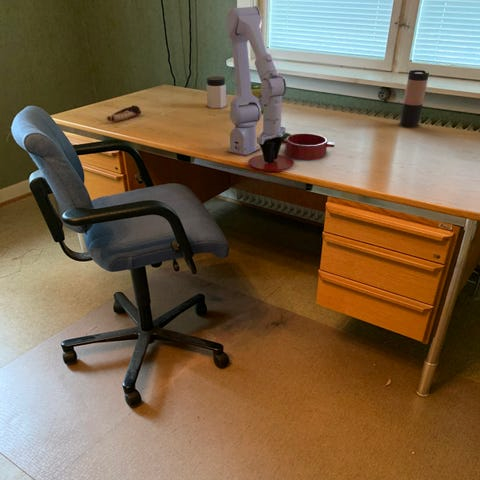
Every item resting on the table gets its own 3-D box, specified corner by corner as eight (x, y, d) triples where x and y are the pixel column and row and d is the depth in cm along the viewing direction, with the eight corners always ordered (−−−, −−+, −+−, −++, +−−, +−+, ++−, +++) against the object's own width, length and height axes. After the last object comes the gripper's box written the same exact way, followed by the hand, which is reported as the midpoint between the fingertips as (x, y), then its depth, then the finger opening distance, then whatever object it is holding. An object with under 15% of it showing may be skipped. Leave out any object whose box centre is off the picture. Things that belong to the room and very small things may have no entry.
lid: (288, 174, 159) (289, 159, 156) (243, 170, 162) (243, 155, 159) (297, 159, 171) (298, 145, 168) (254, 155, 174) (254, 141, 171)
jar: (204, 105, 231) (203, 77, 224) (220, 103, 234) (219, 75, 227) (213, 109, 225) (211, 80, 217) (228, 107, 228) (228, 79, 220)
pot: (330, 162, 168) (332, 147, 165) (274, 157, 172) (274, 143, 169) (335, 149, 179) (337, 135, 176) (282, 144, 183) (282, 131, 180)
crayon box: (250, 114, 218) (250, 85, 211) (248, 112, 220) (248, 84, 213) (265, 112, 219) (266, 84, 212) (263, 111, 222) (264, 83, 215)
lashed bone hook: (131, 113, 221) (99, 121, 210) (130, 102, 219) (97, 109, 207) (145, 116, 216) (113, 124, 205) (144, 104, 214) (111, 112, 202)
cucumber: (294, 142, 186) (294, 133, 184) (289, 144, 184) (290, 135, 181) (271, 137, 191) (271, 128, 188) (266, 139, 188) (266, 130, 186)
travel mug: (397, 126, 202) (406, 72, 189) (401, 121, 207) (411, 69, 195) (416, 128, 199) (427, 74, 187) (420, 123, 204) (431, 71, 192)
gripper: (270, 125, 151) (269, 168, 159) (294, 115, 160) (291, 156, 168) (251, 121, 154) (251, 164, 162) (276, 111, 163) (274, 152, 172)
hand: (270, 160), depth 165 cm, fingers open, 3 cm apart
